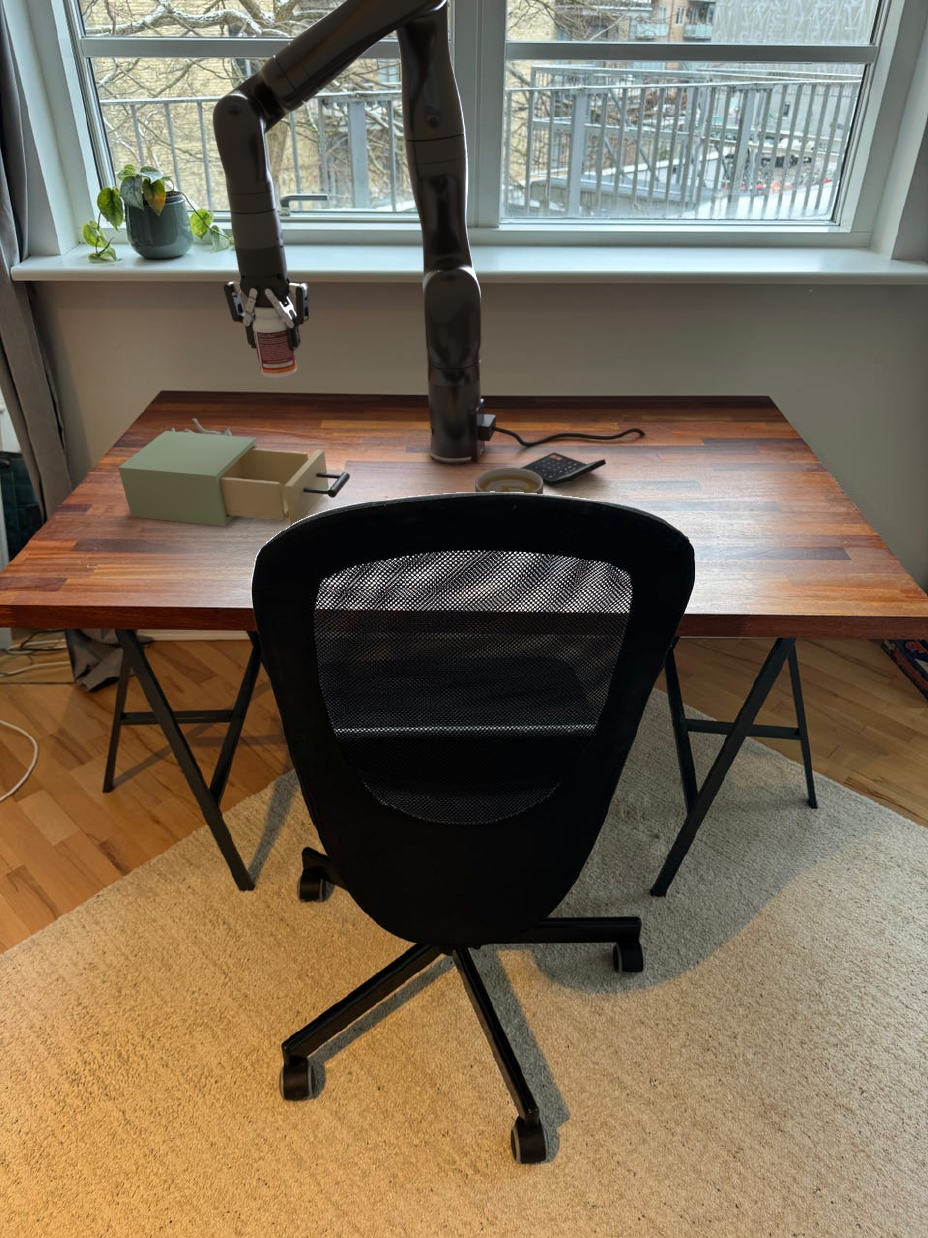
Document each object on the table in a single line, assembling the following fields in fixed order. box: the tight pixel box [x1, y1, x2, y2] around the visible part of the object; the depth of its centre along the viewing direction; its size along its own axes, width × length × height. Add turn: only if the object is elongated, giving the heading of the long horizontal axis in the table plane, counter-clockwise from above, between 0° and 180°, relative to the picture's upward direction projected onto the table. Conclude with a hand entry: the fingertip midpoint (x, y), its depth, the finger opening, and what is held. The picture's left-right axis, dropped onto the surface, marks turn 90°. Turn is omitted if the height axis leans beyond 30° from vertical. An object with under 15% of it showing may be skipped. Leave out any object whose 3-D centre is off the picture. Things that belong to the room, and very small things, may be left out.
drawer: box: [219, 448, 351, 526], centre depth 143 cm, size 21×14×7 cm, turn 76°
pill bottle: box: [253, 307, 298, 379], centre depth 146 cm, size 6×6×11 cm
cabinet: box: [117, 430, 259, 527], centre depth 146 cm, size 17×15×9 cm
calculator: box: [521, 452, 607, 487], centre depth 152 cm, size 9×12×3 cm
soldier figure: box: [170, 417, 233, 436], centre depth 166 cm, size 8×5×12 cm
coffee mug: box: [474, 466, 544, 495], centre depth 133 cm, size 13×10×10 cm
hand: (275, 347), depth 147 cm, fingers closed on pill bottle, 6 cm apart
